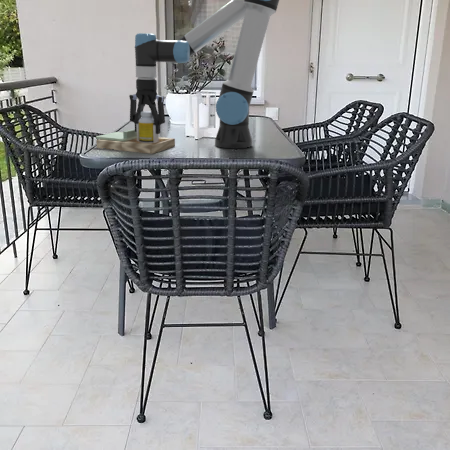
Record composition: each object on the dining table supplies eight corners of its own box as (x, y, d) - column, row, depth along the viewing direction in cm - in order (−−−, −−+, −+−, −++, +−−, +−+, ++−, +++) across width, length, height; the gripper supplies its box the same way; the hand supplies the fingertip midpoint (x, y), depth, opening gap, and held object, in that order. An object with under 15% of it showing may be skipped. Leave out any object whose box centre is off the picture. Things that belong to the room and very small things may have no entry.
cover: (143, 136, 191) (143, 128, 189) (124, 141, 178) (124, 132, 177) (116, 133, 195) (116, 125, 194) (95, 138, 182) (95, 129, 181)
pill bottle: (152, 144, 179) (152, 113, 175) (136, 143, 180) (135, 112, 176) (158, 141, 185) (158, 111, 181) (142, 140, 186) (142, 110, 182)
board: (174, 146, 189) (174, 138, 188) (152, 153, 173) (152, 145, 172) (122, 141, 197) (122, 133, 196) (96, 147, 181) (96, 139, 180)
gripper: (174, 79, 175) (174, 142, 183) (128, 77, 181) (130, 138, 189) (165, 80, 168) (165, 145, 176) (117, 77, 175) (120, 140, 182)
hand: (147, 141), depth 183 cm, fingers closed on pill bottle, 6 cm apart
